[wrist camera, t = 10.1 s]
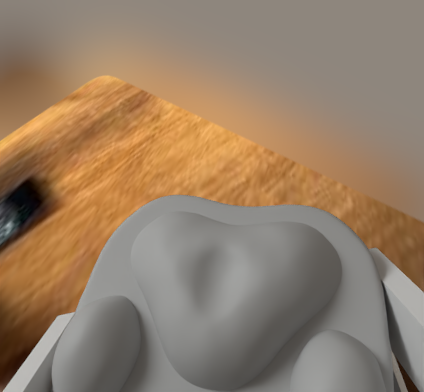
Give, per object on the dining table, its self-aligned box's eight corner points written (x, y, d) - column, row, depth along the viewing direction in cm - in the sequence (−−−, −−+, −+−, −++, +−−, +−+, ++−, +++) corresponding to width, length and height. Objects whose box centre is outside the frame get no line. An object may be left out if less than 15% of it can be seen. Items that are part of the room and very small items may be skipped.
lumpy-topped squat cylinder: (357, 273, 19) (402, 187, 12) (354, 632, 13) (440, 928, 6) (165, 250, 22) (101, 166, 14) (89, 541, 16) (-91, 663, 8)
